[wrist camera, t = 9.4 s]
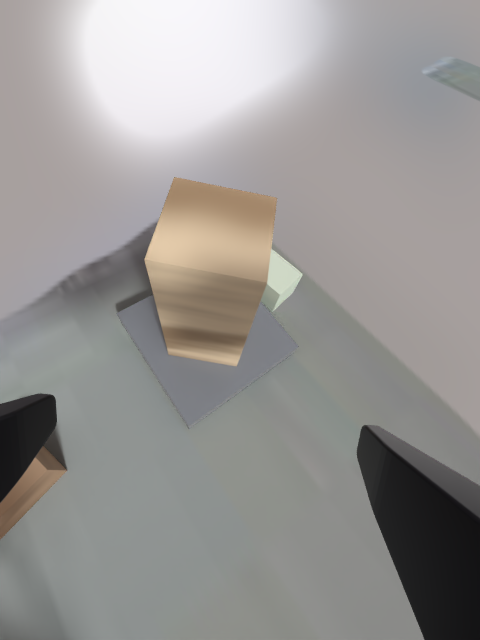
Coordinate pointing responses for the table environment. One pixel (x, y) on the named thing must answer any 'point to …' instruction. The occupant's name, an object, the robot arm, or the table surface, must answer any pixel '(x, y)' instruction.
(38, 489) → the walnut brick
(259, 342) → the slate tile
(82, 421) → the table surface
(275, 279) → the sage brick
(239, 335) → the oak block
